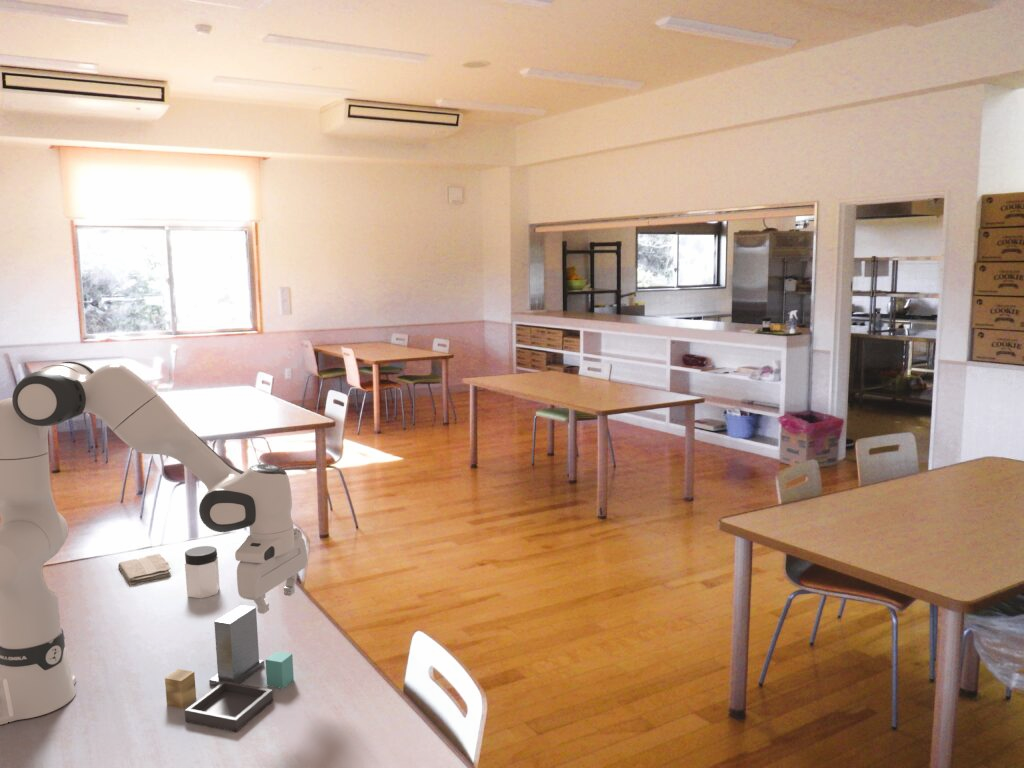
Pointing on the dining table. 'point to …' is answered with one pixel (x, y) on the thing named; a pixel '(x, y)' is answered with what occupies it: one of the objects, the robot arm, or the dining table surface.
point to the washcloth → (145, 569)
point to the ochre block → (180, 688)
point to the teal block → (279, 669)
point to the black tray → (229, 706)
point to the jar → (202, 572)
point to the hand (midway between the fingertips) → (276, 603)
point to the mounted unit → (236, 646)
